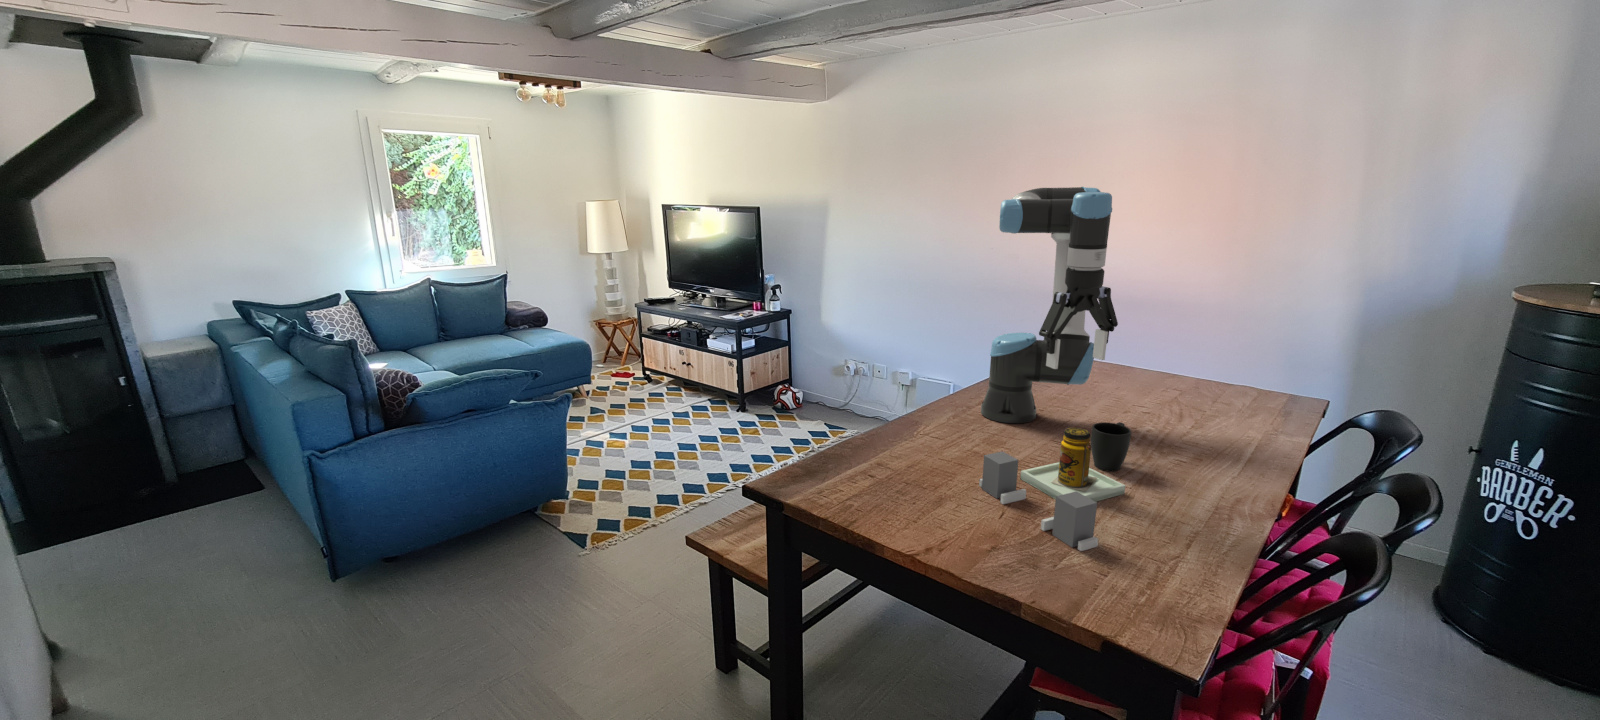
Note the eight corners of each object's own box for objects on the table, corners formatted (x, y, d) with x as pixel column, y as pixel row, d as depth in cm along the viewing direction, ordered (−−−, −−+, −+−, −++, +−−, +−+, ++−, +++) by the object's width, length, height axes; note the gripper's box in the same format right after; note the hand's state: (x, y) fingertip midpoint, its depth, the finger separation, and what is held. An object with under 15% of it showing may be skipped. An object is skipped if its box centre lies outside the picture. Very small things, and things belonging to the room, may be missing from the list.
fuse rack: (975, 486, 145) (977, 452, 143) (997, 481, 147) (999, 448, 145) (1076, 552, 119) (1081, 512, 117) (1101, 545, 121) (1106, 505, 119)
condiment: (1050, 483, 144) (1055, 432, 141) (1064, 470, 150) (1069, 421, 147) (1085, 492, 139) (1091, 440, 136) (1097, 479, 145) (1103, 428, 142)
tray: (1020, 478, 148) (1020, 470, 148) (1071, 467, 154) (1072, 459, 153) (1070, 508, 135) (1071, 499, 135) (1124, 493, 141) (1125, 485, 140)
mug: (1137, 461, 157) (1142, 423, 154) (1119, 477, 148) (1124, 438, 146) (1101, 451, 162) (1106, 415, 160) (1082, 467, 154) (1086, 429, 151)
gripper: (1052, 275, 132) (1043, 376, 138) (1143, 264, 141) (1130, 359, 147) (1026, 270, 138) (1019, 366, 145) (1114, 260, 147) (1104, 350, 154)
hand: (1075, 362), depth 146 cm, fingers open, 13 cm apart
